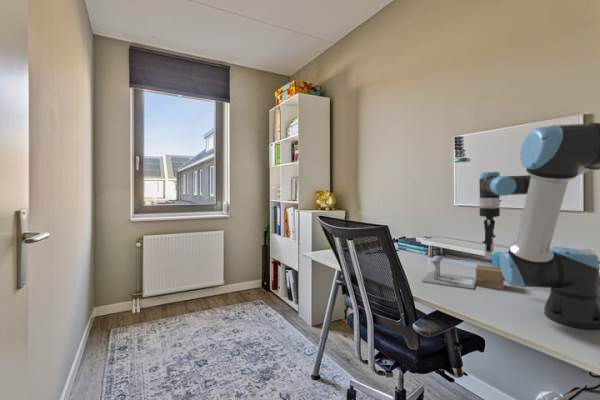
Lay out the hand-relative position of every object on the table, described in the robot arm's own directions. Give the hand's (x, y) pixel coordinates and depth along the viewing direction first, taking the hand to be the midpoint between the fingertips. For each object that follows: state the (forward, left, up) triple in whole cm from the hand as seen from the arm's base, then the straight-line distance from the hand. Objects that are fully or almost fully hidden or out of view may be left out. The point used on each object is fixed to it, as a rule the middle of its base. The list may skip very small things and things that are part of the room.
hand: (489, 255), depth 133 cm
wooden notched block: (0, 0, -14) cm, 14 cm away
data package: (+16, -7, -14) cm, 22 cm away
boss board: (-1, +16, -14) cm, 21 cm away
